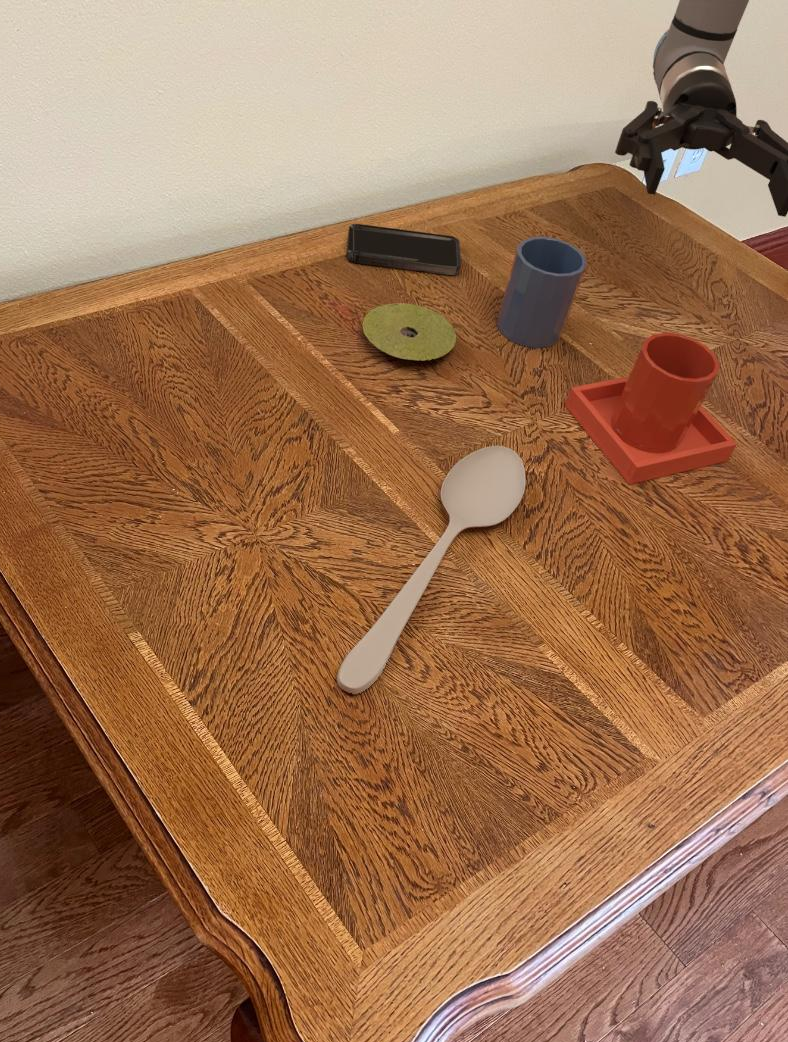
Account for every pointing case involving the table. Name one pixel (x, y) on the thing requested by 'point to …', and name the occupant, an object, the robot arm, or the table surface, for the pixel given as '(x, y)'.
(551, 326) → the blue cup
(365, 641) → the spoon
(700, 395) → the rust cup
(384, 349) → the green grinding disc
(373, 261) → the phone
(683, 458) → the red tray
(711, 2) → the robot arm
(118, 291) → the table surface
